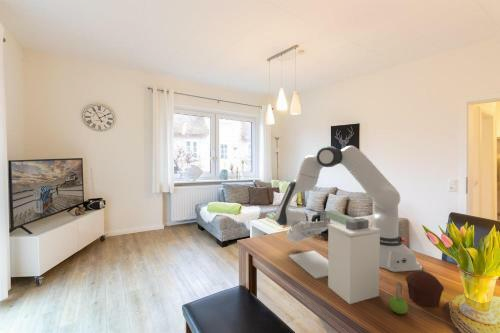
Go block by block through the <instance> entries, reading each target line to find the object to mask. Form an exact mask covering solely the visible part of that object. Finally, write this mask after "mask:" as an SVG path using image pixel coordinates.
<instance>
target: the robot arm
mask: <svg viewBox="0 0 500 333" xmlns="http://www.w3.org/2000/svg"><path fill="white" fill-rule="evenodd" d="M339 164H340V165H342V166H344V167H345V169H346V170H347V171H348V172H349V174H351V176H352V177H353V179H355V180H356V181H357V183H359V185H360V186H361V187H362V189H363V190H364V191H365V193H366V194H367V195H368V196H369V198H370V199H371V200H372V226H373V227H376V228H379V229H380V259H379V268H382V269H386V270H388V271H391V272H393V273H397V272H398V273H399V272H409V271H410V272H415V271H423V266H422V264H421V263H420V262H419V261H418V260H417V257H416V255H415V253H414V252H413V250H411V249H410V248H409V247H407V246H406V245H405V244H406V243H407V242H408V240H407V239H406V238H405V237H401V235H399V205H400V203H401V195H400V192H399V191H398V190H397V188H396V187H395V186H394V185H393V184H392V183H391V182H390V181H389V180H388V179H387V178H386V177H385V175H383V173H382V172H381V170H379V169H378V168H377V166H376V165H375V164H374V163H373V162H372V161H371V160H370V159H369V158H368V156H367V155H365V154H364V152H362V151H361V150H360V149H359V148H357V147H356V146H354V145H347V146H345V147H343V148H342V149H339V148H336V147H335V146H332V145H327V146H323V147H321V148H320V149H318V151H317V153H316V155H315V154H314V155H313V154H309V155H306V156H305V157H304V158H303V160H302V162H301V164H300V168H299V170H298V174H297V176H296V178H294V179H293V180H292V181H290V183H289V184H288V186H287V188H286V191H285V192H284V195H283V197H282V200H281V202H280V203H279V206H278V208H277V209H276V211H275V212H274V220H275V222H276V223H277V224H278V225H279V226H288V227H289V226H290V227H289V229H288V230H287V232H286V238H287V239H288V241H289V242H291V243H300V242H303V241H304V240H307V239H310V238H312V237H314V236H317V235H319V234H321V232H323V231H325V230H327V229H328V224H331V222H330V223H329V221H328V220H326V221H319V222H317V221H316V222H312V221H309V217H308V215H307V213H306V211H305V210H303V209H297V208H294V209H293V208H289V207H290V205H291V204H292V201H293V198H294V197H295V195H298V194H299V193H304V192H308V191H311V190H312V189H314V188H315V187H316V186H317V184H318V181H319V178H320V173H321V170H322V169H323V168H333V167H336V166H337V165H339Z"/></svg>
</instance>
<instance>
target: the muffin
mask: <svg viewBox="0 0 500 333" xmlns="http://www.w3.org/2000/svg"><path fill="white" fill-rule="evenodd" d="M405 281H406V284H407V286H406V287H407V292H408V298H409V299H410V300H411V301H412V302H413V303H414V304H417V305H420V306H421V307H423V308H431V309H434V308H438V307H439V306H440V301H441V298H442V293H443V292H444V290H445V289H444V286H443V284H442V283H441V282H440V280H439V279H437V277H435V275H433V274H431V273H429V272H427V271H423V270H414V271H411V272H410V273H409V274H407V275H406V277H405Z"/></svg>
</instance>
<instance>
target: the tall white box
mask: <svg viewBox="0 0 500 333" xmlns="http://www.w3.org/2000/svg"><path fill="white" fill-rule="evenodd" d="M327 241H328V247H327V248H328V250H327V252H328V253H327V256H328V258H327V259H328V276H327V287H328V289H330V290H331V291H333V292H334V293H335V294H337V295H338V296H339V297H341V299H343V300H344V301H346V302H347V303H348V304H349V305H352V304H355V303H359V302H362V301H365V300H366V301H367V300H368V299H373V298H376V297H379V296H380V267H379V259H380V229H379V228H376V227H373V225H370V224H369V227H368V228H365V229H358V230H349V229H347V228H346V225H344V224H341V223H339V222H335V223H330V224H328V239H327Z"/></svg>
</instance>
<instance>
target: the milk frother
mask: <svg viewBox="0 0 500 333" xmlns="http://www.w3.org/2000/svg"><path fill="white" fill-rule="evenodd" d="M326 211H327V210H317V211H316V214H314V215H312V217H311V220H310V222H319V221H326V220H328V221H329V223H330V224H331V219H328V218H326ZM318 235H320V236H326V237H328V229H327V230H325V231H323V232H321V234H318Z"/></svg>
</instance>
